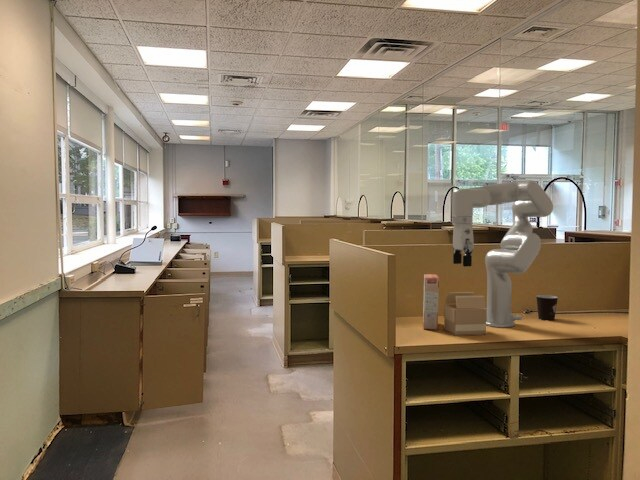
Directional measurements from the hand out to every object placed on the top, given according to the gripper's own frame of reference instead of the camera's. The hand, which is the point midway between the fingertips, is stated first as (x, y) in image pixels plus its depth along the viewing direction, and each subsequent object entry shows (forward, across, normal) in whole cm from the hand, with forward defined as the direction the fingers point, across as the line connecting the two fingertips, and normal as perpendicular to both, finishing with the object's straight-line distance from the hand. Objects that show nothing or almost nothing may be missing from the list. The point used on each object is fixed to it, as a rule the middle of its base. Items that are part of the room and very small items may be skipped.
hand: (462, 264), depth 190 cm
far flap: (+14, +4, -1) cm, 14 cm away
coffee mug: (+27, +20, -48) cm, 59 cm away
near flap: (+14, -5, -1) cm, 15 cm away
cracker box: (+26, +10, +9) cm, 30 cm away
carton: (+26, -1, -1) cm, 26 cm away
